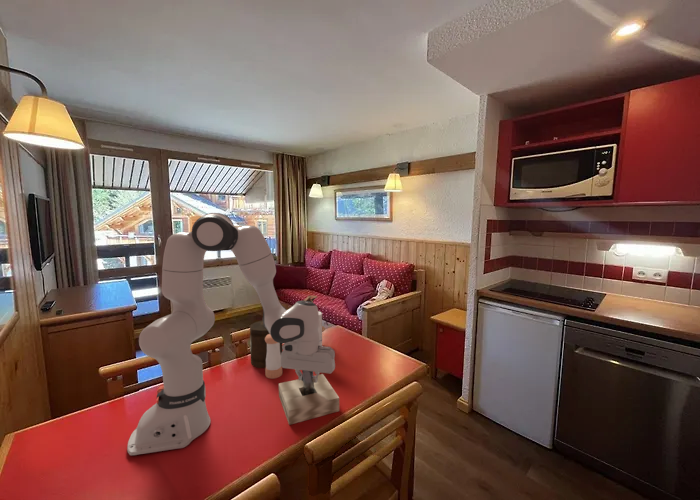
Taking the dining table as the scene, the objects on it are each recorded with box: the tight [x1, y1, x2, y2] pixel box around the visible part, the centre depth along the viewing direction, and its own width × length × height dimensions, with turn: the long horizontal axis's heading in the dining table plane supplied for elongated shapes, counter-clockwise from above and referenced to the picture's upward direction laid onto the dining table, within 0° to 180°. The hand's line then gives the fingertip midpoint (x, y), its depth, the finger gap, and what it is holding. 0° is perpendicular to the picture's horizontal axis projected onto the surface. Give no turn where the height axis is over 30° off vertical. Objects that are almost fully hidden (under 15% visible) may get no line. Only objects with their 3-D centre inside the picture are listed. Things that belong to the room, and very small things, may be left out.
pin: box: [301, 370, 315, 396], centre depth 109 cm, size 4×4×10 cm
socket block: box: [278, 373, 340, 426], centre depth 110 cm, size 18×18×5 cm
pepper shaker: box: [264, 334, 283, 380], centre depth 130 cm, size 7×7×19 cm
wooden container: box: [249, 317, 283, 369], centre depth 142 cm, size 15×15×22 cm
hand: (308, 380), depth 109 cm, fingers closed on pin, 4 cm apart
